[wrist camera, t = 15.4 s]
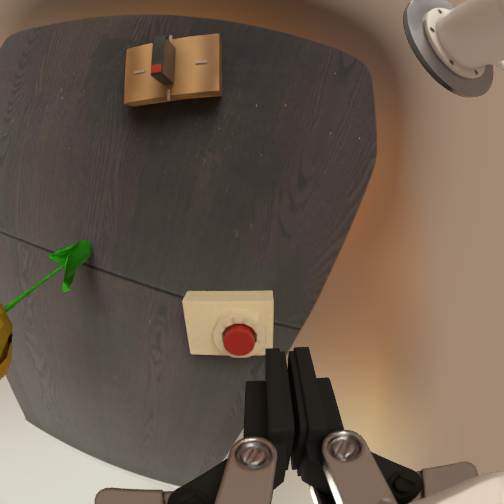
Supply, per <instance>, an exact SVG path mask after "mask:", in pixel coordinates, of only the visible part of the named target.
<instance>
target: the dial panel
mask: <svg viewBox="0 0 504 504" xmlns="http://www.w3.org/2000/svg"><path fill="white" fill-rule="evenodd" d="M169 41H170V42H171V43H172V44H173V46H174V47H175V48H176V52H175V73H174V84H167V85H163V84H161V83H160V82H159V81H157V80H156V79H154V78H153V77H152V76H151V59H152V46H153V43H151V44H146V45H142V46H138V47H133V48H129V49H127V56H126V69H125V87H124V104H126V105H129V106H132V107H137V106H142V105H148V104H154V103H161V102H168V101H175V100H184V99H193V98H203V97H216V96H222V41H221V37H220V34H210V35H200V36H192V37H185V38H178V39H172V35H170V36H169Z"/></svg>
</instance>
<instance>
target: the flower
mask: <svg viewBox="0 0 504 504" xmlns="http://www.w3.org/2000/svg"><path fill="white" fill-rule="evenodd" d="M91 250H92V249H91V245H90V243H89V241H88V240H81V241H79V242H78V243H77V244H76V245H71V246H68V247H65V248H63V249H61V250H59V251H58V252H56V253H53V254H49V256H50V259H52V260H53V261H55V262H57V263H59V264H62V266H61V267H59V268H58V269H56V270H55V271H54V272H52V273H51V274H49V275H48V276H47V277H45V278H44V279H43V280H41V281H40V282H38V283H37V284H36V285H34V286H33V287H32V288H30V289H29V290H27V291H26V292H25V293H23V294H22V295H20V296H19V297H18V298H16V299H15V300H14V301H12V302H11V303H10V304H8V305H7V306H6V307H3V305H2V303H0V379H1V378H3V377H4V376H5V375H6V374H7V372H8V369H9V366H10V364H11V355H12V336H13V335H12V326H13V325H12V323H11V322H10V320H9V319H8V316H7V314H6V313H7V312H8V311H9V310H10V309H11V308H12V307H13V306H15V305H16V304H17V303H18V302H19V301H20V300H22V299H23V298H24V297H25V296H26V295H28V294H29V293H30V292H31V291H33V290H34V289H35V288H36V287H38V286H39V285H40V284H42V283H43V282H44V281H46V280H47V279H48V278H50V277H51V276H52V275H54V274H55V273H56V272H58V271H59V270H61V269H62V268H63V267H64V269H65V277H64V282H63V284H62V291H63V292H64V291H69V290H70V288H69V286H70V285H71V283H72V281H73V277H74V274H75V271H76V269H77V268H78V267H79V266H80V265H81V264H83V263H84V262H85V261H86V260H87V259H88V258H89V257H90V255H91Z"/></svg>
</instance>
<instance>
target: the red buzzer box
mask: <svg viewBox="0 0 504 504" xmlns="http://www.w3.org/2000/svg"><path fill="white" fill-rule="evenodd" d="M182 303H183V310H184V316H185V323H186V329H187V335H188V341H189V347H190V353H191V354H201V355H229V356H231V357H233V358H247V357H250V356H252V355H265V348H273V314H274V300H273V291H187V293H186V295H185V297H184V299H183V301H182ZM235 324H243V325H246V326H248V327H250V328H251V329H252V330H253V332H254V335H255V346H254V349H253V350H252V351H251V352H250V353H249V354H246V355H243V356H236V355H233V354H230V353H229V352H228V351H227V350H226V349H225V348H224V345H223V340H224V334H225V331H226V330H227V328H228V327H230V326H232V325H235Z"/></svg>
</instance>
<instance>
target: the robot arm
mask: <svg viewBox="0 0 504 504" xmlns="http://www.w3.org/2000/svg"><path fill="white" fill-rule="evenodd" d="M424 27H425V32H426V35H427V38H428V40H429V42H430V44H431V46H432V48H433V49H434V51H435V53H436V54H437V55H438V57H439V58H440V59H441V60H442V61H443V63H444V64H445V65H446V66H447V67H448V68H450V69H451V70H452V71H453V72H455V73H456V74H457V75H459V76H461V77H464V78H467V79H474V78H478V77H480V76H481V75H482V74H483V73H484V71H485V67H486V65H488V64H491V65H496V66H497V67H499V68H501V69H502V70H504V0H467V1H465V2H463V3H462V4H460V5H458V6H457V7H455V8H453V9H451V10H448V9H445V8H434V9H432V10H430V11H429V12H428V13H427V14H426V16H425V19H424ZM290 456H291V466H292V470H296V469H297V473H298V476H301V479H302V481H304V482H305V483H307V484H309V489H310V492H311V494H312V498H313V501H314V504H504V472H490V473H486V474H482V475H478V473H477V470H476V467H475V466H474V465H473V464H472V463H469V462H459V463H454V464H450V465H444V466H438V467H433V468H426V469H422V470H421V471H417V472H415V471H413V470H412V469H409V468H406V467H404V466H402V465H399V464H397V463H394V462H392V461H390V460H388V459H385V458H383V457H381V456H378V455H377V454H374V453H372V452H371V451H370V450H369V448H368V446H367V444H366V442H365V440H364V439H363V438H362V436H361V435H359V434H358V433H356V432H353V431H350V430H344V428H343V425H342V420H341V417H340V414H339V410H338V406H337V403H336V399H335V396H334V392H333V389H332V386H331V382H330V379H329V378H316V375H315V371H314V367H313V363H312V359H311V355H310V351H309V348H308V347H297V348H294V351H289V355H288V369H287V364H286V356H285V352H280V349H279V348H265V381H246V392H245V415H244V438H243V439H241V440H239V441H237V442H236V443H235V444H234V445H233V446H232V448H231V450H230V453H229V456H228V459H226V460H224V461H223V462H221V463H220V464H218V465H217V466H215V467H213V468H212V469H210V470H209V471H207V472H205V473H204V474H202V475H201V476H199V477H197V478H196V479H194V480H192V481H190V482H189V483H187V484H185V485H183V486H182V487H180V488H178V489H176V490H175V491H172V492H171V491H168V492H163V490H139V489H120V488H105V489H102V490H100V491H99V492H98V494H97V495H96V498H95V504H271V501H272V495H273V490H274V489H275V488H276V487H277V486H279V485H280V484H281V483H282V482H284V476H285V471H286V470H288V466H289V461H290Z"/></svg>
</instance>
